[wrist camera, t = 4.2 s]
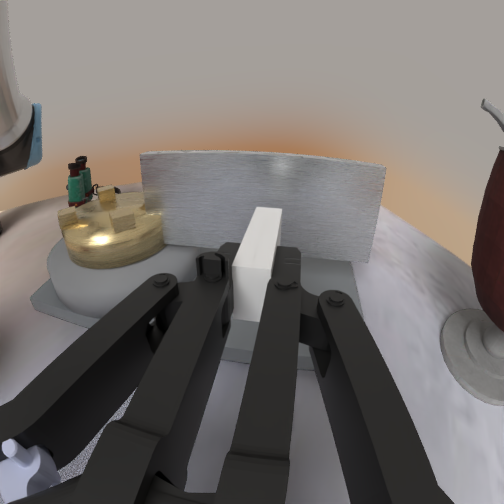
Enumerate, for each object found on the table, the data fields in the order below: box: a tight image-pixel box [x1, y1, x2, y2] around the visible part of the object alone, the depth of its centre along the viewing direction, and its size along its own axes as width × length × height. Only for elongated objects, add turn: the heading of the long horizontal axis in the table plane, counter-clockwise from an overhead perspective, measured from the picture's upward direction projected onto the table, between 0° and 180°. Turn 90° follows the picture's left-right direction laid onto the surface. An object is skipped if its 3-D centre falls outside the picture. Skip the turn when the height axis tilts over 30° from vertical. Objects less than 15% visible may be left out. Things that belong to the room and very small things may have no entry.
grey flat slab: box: [30, 238, 364, 370], centre depth 30 cm, size 31×26×4 cm
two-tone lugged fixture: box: [58, 150, 386, 269], centre depth 23 cm, size 28×11×8 cm, turn 81°
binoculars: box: [66, 156, 121, 209], centre depth 41 cm, size 9×11×10 cm
